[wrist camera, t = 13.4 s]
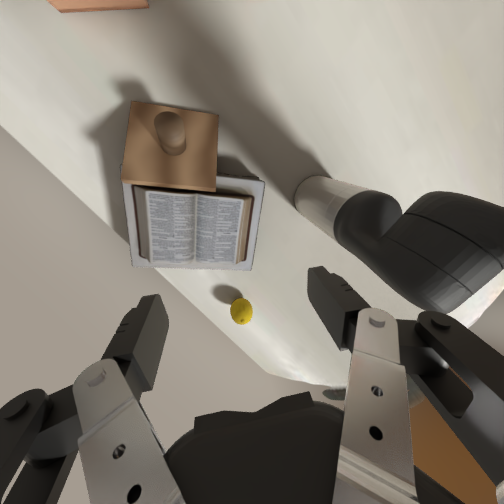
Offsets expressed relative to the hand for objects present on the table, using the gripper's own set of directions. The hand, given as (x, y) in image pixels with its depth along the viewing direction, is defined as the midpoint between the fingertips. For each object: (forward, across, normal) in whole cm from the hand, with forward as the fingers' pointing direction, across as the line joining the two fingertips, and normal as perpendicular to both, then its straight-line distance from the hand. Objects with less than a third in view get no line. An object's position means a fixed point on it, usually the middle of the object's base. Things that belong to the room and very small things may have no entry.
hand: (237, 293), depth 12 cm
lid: (+32, +7, -8) cm, 33 cm away
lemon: (+36, 0, +30) cm, 47 cm away
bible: (+37, +6, +6) cm, 37 cm away
